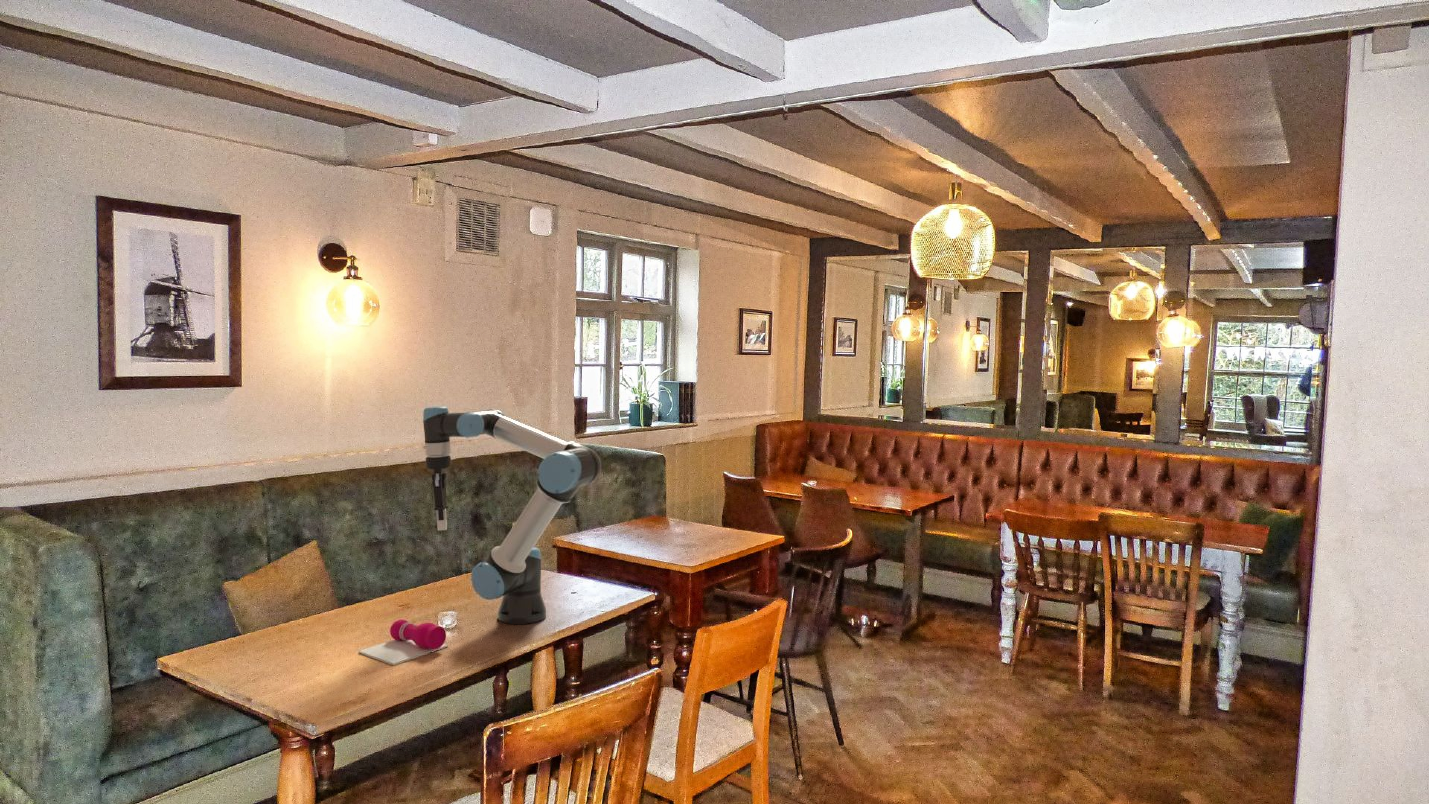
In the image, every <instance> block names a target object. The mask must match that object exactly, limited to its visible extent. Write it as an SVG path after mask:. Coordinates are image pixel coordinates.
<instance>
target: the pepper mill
mask: <svg viewBox="0 0 1429 804" xmlns="http://www.w3.org/2000/svg"><path fill="white" fill-rule="evenodd" d="M389 633H390V637H391V638H392V639H393V640H398V641H402V640H406V641H408V640H412V641H414V642H415V644H416V645H417V646H419V647H421V648H423V649H428V648H432V649H438V648H440V647H441V646H442V645H443V644H445V642H446V639H447V633H446V630H445V628H444V627H443V626H440V625H436V624H435V623H433V622H424V623H421V624H419V625H415V624H414V623H413V622H409V621H408V620H405V619H398V620H395V621H394V622H393V623H392V624H391V626H390V627H389Z"/></svg>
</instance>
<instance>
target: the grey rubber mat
mask: <svg viewBox="0 0 1429 804" xmlns="http://www.w3.org/2000/svg"><path fill="white" fill-rule="evenodd" d="M445 647H447V648H448V644H446V643H444V644H443V645H442V646H441V647H440V648H438V649H432V648H428V649H423V648H421V647H419V646H417V645H416V644H415V642H414V641H412V640H408V641H406V640H402V641H398V640H395V639H393V640H389V641H386V642H383V643H380V644H376V645H372V646H370V647H367V648H364V649H360V650H358V654H360V653H361V654H360V655H364V656H366V657H369V658H371V659H375V660H377V661H380V662H383V663H386V664H387V665H392V666H396V665H400V664H402V663H405V661H406V662H409V661H410V660H411V659H412V660H415V659H417V658H420V657H423V656H425V654H426V655H429V654H431V653H430V652H432V653H434V651H435V652H437V651H436V650H438V651H440V649H441V650H443V648H444V649H446V648H445ZM428 653H429V654H428ZM422 655H423V656H422ZM419 656H420V657H419Z"/></svg>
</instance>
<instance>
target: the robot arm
mask: <svg viewBox="0 0 1429 804" xmlns="http://www.w3.org/2000/svg"><path fill="white" fill-rule="evenodd" d="M422 414H423V415H422V416H423V420H422V422H423V432H424V445H423V446H422V448H423V449H425V450H424V451H425V456H426V457H425V468H426V469H428V470H433V474H432V475H431V480H432V481H431V482H432V487H433V497H434V508H433V510H434V511H436V512H435V513H436V526H437V527H436V528H437V529H436V530H437V532H438V531H447V529H448V523H447V509H448V508H449V505H447V473H446V472H445V469H449V468H451V467H452V457H451V455H450V454H451V453H452V452H451V440H450V439H451V438H476V437H479V436H480V435H481V436H482V435H487V436H490V437H491V438H495V439H497V440H499V441H502V442H505V444H509V445H511V446H513V447H516V448H517V449H521V450H522V451H524V452H527V453H530V454H532V455H534V456H537V457H539V458H541V459H543V460H542V461H541V462H540V464H539V466H538V470H537V474H538V476H537V479H536V481H535V482H536V483H535V484H536V487H537V489H536V490H535V492H534V494H533V495H532V497H531V498H530V499H529V500H528V503H527V504H526V506H525V507H524V509H523V510H522V512H521V514H520V515H519V517H518V518H517V520H516V521H515V522H514V525H513V526H512V527H511V529H510V531H509V532H508V533H507V535H506V537H504V540H503V541H502V543H501V544H500V545H496V546H494V547H493V548H492V549H491V551H490V553H489V554H488V555H487V556H486V559H484V561H481V562H479V563H478V564H476V565H475V566H474V567H473V569H472V571H471V573H470V581H471V586H472V588H473V590H474V592H475V593H476V594H477V595H478V596H479V597H481V598H482V599H484V600H489V601H491V600H496V599H501V598H502V599H501V602H500V605H499V608H498V611H497V613H498V614H497V619H498V620H499V621H500V622H501V623H505V624H509V625H510V624H511V625H527V624H528V623H529V624H534V623H537V622H541V621H543V620H544V619H545V618H547V608H546V605H545V602H544V599H543V596H542V592H541V589H542V587H541V586H542V559H543V558H542V554H541V550H540V548H538V547H535V545H536V544H537V543H538V541H539V540H540V539H541V536H542V535H543V533H545V530H546V529H547V527H549V524H550V523H551V521H552V520H553V519H554V517H555V515H556V513H558V511H559V509H560V508H561V506H562V505H563V504H567V503H570V502H571V500H572V498H573V497H574V496H575V494H576V493H577V492H578V490H579V488H581V487H585V486H588V485H591V484H592V483H594V482H595V481H596V480H597V479H598V477H599V475H600V474H601V470H602V463H601V462H602V461H601V458H600V456H599V455H598V453H597V452H596V451H595V450H593V449H592V448H590V447H588V446H587V445H583V444H581V443H578V442H576V441H569V442H567V441H565V440H562V439H559V438H557V437H555V436H552V435H550V434H547V433H546V432H543V431H541V430H539V429H536V428H534V427H531V426H528V425H525V424H523V423H521V422H519V421H516V420H513V419H511V418H510V417H506V415H505V413H503V411H501V410H498V409H486V410H478V411H466V412H449V408H448V406H443V405H442V406H441V405H440V406H428V407H427V406H426V407H425V408H424V409H423V412H422ZM540 620H541V621H540Z"/></svg>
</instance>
